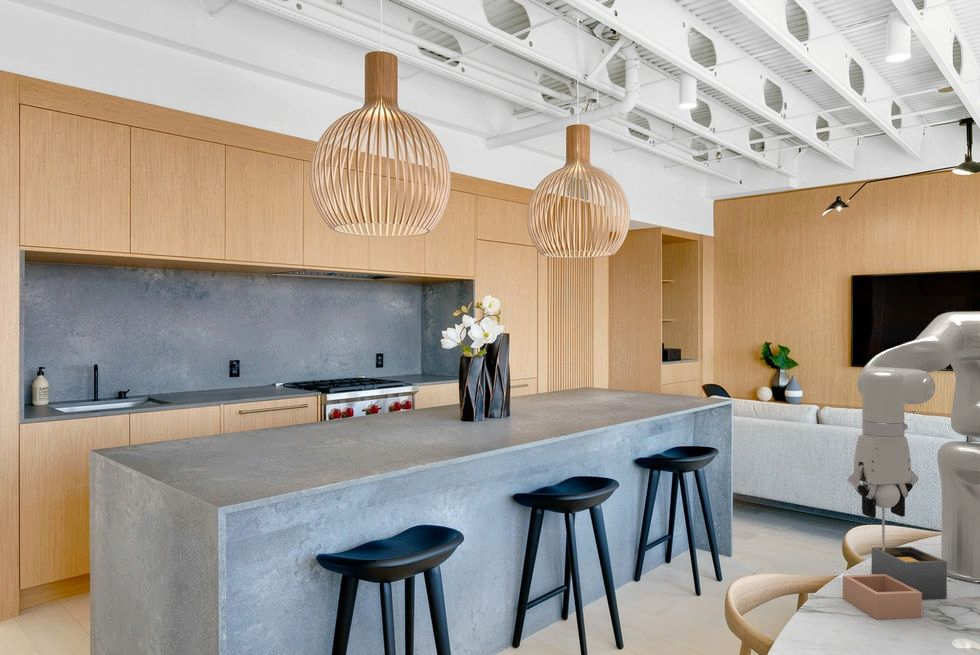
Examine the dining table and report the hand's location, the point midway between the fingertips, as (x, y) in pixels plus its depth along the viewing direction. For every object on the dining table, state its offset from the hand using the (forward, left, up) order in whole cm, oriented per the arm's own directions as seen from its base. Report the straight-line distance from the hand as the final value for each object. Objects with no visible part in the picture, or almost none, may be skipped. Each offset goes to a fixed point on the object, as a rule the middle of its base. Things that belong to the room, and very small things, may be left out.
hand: (883, 514), depth 134 cm
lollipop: (0, 0, -8) cm, 8 cm away
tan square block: (-12, -8, -17) cm, 22 cm away
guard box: (-12, -8, -19) cm, 24 cm away
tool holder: (+1, 0, -19) cm, 19 cm away
